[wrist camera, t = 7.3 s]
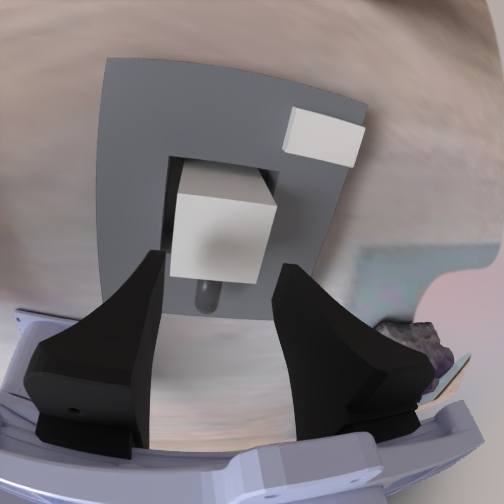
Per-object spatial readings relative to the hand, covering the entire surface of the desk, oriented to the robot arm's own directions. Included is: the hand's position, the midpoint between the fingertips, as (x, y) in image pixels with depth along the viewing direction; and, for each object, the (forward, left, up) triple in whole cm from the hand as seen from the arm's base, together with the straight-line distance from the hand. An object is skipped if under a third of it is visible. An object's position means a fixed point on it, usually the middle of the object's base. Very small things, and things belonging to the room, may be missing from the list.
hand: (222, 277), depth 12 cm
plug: (-1, 0, -8) cm, 9 cm away
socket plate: (0, 0, -9) cm, 9 cm away
